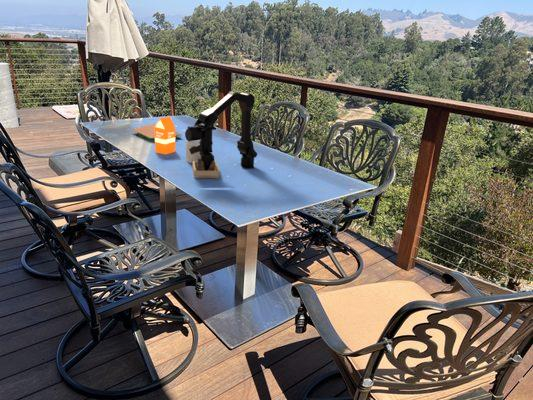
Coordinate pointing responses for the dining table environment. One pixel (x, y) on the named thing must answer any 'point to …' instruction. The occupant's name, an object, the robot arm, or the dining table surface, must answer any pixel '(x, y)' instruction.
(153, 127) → the brown green flat box
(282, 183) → the dining table surface
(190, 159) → the mug
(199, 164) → the walnut box
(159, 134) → the orange juice
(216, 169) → the carton
